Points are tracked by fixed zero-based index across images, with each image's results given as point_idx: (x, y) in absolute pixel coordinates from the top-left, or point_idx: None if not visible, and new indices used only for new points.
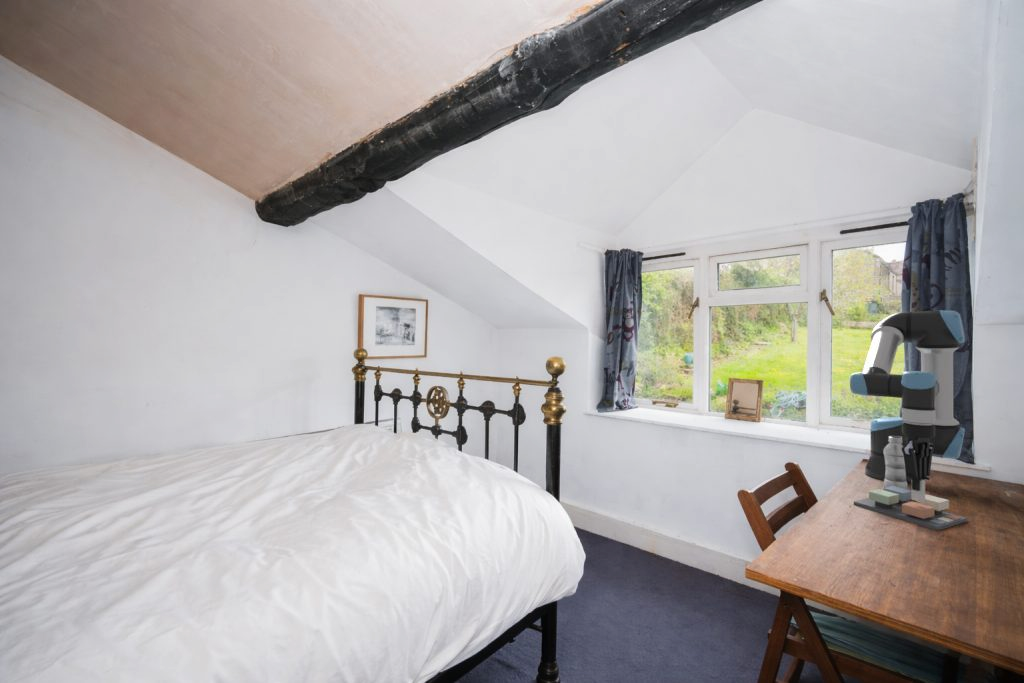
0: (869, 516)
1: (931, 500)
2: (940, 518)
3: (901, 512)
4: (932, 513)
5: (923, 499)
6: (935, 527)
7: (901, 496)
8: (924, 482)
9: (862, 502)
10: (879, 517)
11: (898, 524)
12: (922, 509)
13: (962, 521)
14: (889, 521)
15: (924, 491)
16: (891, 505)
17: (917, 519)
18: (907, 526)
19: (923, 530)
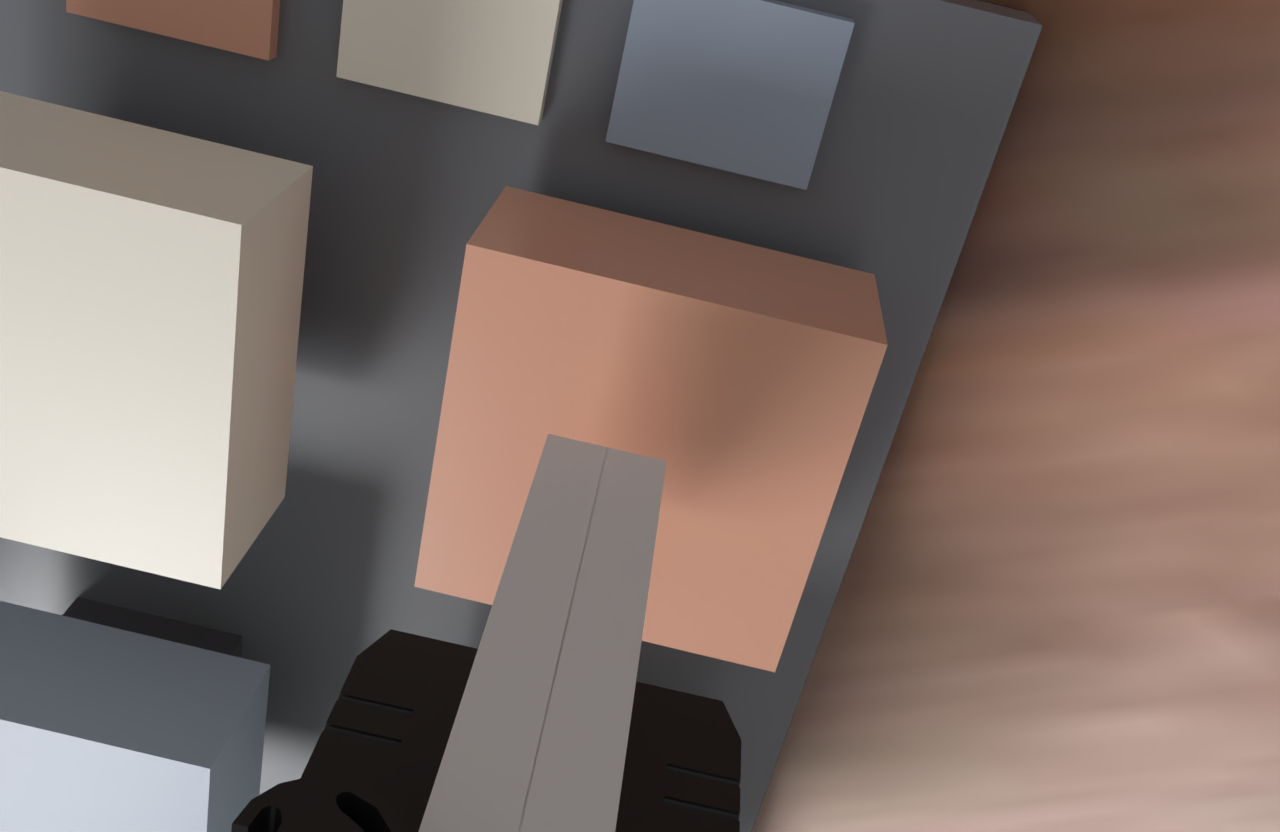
0: (1086, 800)
1: (218, 362)
2: (491, 88)
3: None
4: (567, 222)
5: (611, 480)
6: (1026, 59)
7: (240, 739)
8: (480, 786)
9: None
10: (1023, 714)
11: (1178, 495)
12: (846, 377)
13: None
14: (1119, 601)
15: (530, 587)
16: None
17: None
18: (1182, 390)
19: (1219, 182)
